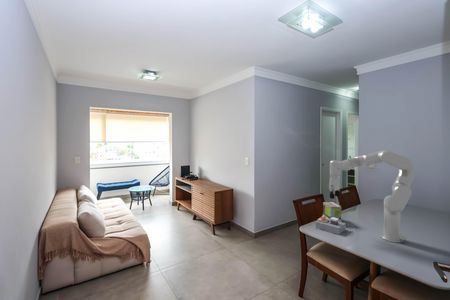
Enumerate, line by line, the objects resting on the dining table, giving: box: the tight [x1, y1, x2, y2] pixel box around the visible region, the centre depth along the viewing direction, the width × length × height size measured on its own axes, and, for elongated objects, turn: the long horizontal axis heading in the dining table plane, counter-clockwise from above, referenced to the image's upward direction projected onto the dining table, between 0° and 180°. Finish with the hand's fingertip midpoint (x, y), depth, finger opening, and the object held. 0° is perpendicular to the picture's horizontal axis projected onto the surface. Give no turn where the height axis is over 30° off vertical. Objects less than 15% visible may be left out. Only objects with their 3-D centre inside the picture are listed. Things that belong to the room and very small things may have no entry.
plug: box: [330, 217, 339, 225], centre depth 178 cm, size 5×5×9 cm
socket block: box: [315, 220, 346, 235], centre depth 180 cm, size 18×14×5 cm
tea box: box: [322, 201, 342, 222], centre depth 199 cm, size 15×10×15 cm
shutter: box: [316, 215, 330, 223], centre depth 184 cm, size 7×7×3 cm
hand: (334, 197), depth 177 cm, fingers open, 9 cm apart
